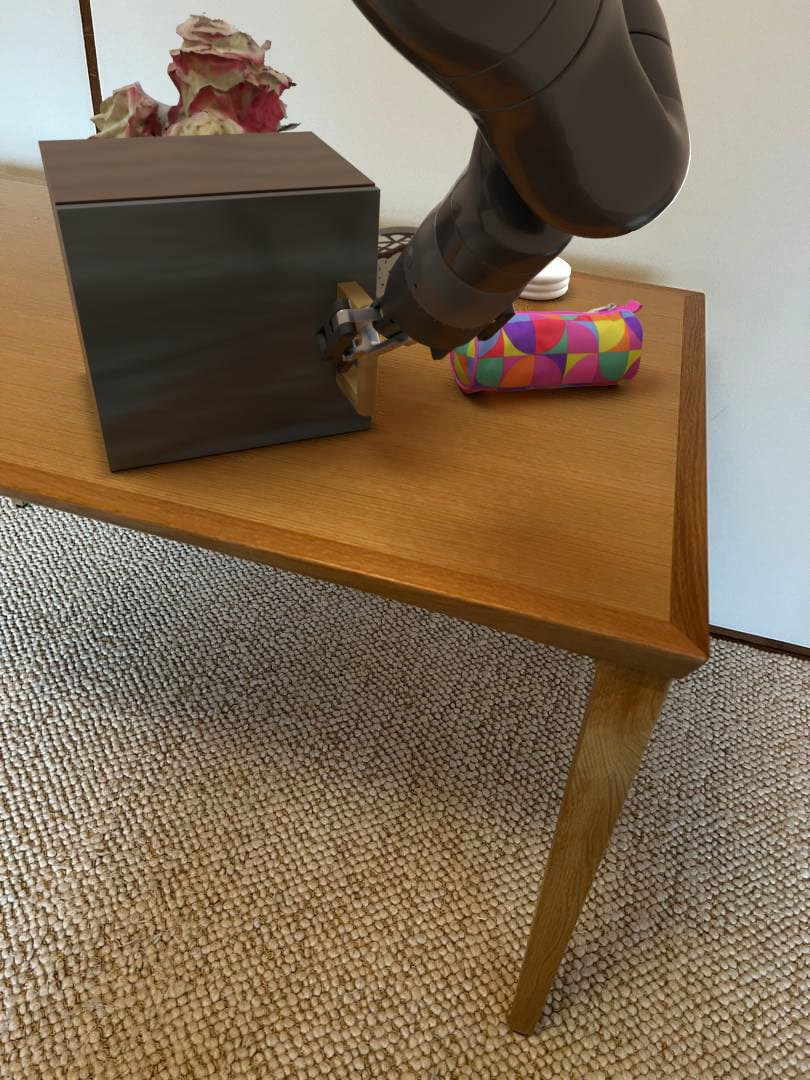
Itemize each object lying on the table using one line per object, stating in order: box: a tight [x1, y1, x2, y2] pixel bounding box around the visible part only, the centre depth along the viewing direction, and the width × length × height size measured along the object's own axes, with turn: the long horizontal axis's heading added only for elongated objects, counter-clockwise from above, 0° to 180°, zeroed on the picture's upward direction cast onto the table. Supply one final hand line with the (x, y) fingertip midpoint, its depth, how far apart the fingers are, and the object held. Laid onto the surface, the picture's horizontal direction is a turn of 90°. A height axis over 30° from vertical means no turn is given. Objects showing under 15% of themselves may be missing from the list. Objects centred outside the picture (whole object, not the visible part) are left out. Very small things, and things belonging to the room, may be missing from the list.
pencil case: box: [449, 299, 644, 395], centre depth 92 cm, size 22×9×9 cm, turn 108°
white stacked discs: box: [518, 256, 572, 301], centre depth 116 cm, size 10×10×4 cm
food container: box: [376, 225, 419, 299], centre depth 105 cm, size 12×6×10 cm, turn 130°
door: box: [56, 185, 381, 472], centre depth 70 cm, size 8×26×24 cm, turn 113°
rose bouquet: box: [86, 11, 302, 139], centre depth 108 cm, size 26×29×30 cm
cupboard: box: [37, 130, 376, 462], centre depth 80 cm, size 18×26×24 cm
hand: (387, 355), depth 67 cm, fingers open, 8 cm apart
